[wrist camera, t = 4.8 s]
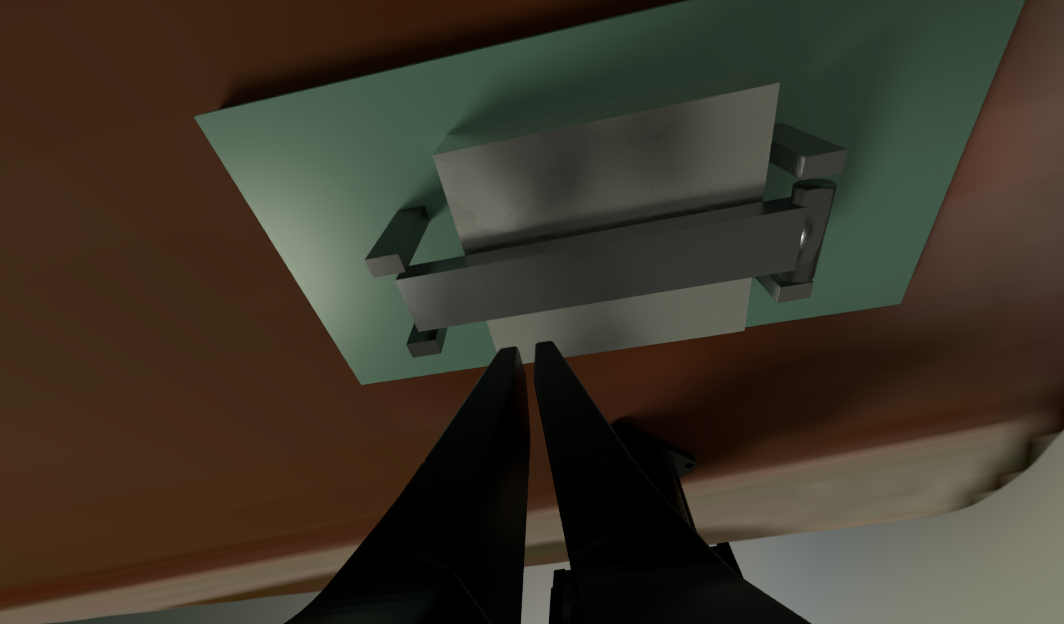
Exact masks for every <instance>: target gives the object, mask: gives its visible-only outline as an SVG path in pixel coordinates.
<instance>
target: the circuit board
mask: <svg viewBox="0 0 1064 624" xmlns="http://www.w3.org/2000/svg"><path fill="white" fill-rule="evenodd" d="M1024 2H1025V0H682V1H678V2H674V3H669V4H665V5H661V6H657V7H652V8H648V9H644V10H640V11H635V12H631V13H627V14H622V15H618V16H614V17H610V18H605V19H601V20H597V21H593V22H588V23H584V24H580V25H576V26H571V27H567V28H563V29H558V30H554V31H550V32H546V33H541V34H537V35H533V36H529V37H524V38H520V39H516V40H512V41H507V42H503V43H499V44H494V45H490V46H486V47H482V48H477V49H473V50H469V51H465V52H460V53H456V54H452V55H448V56H443V57H439V58H435V59H430V60H426V61H422V62H418V63H413V64H409V65H405V66H401V67H396V68H392V69H388V70H384V71H379V72H375V73H371V74H366V75H362V76H358V77H354V78H349V79H345V80H341V81H337V82H332V83H328V84H324V85H320V86H315V87H311V88H307V89H302V90H298V91H294V92H290V93H285V94H281V95H277V96H273V97H268V98H264V99H260V100H256V101H251V102H247V103H243V104H238V105H234V106H230V107H226V108H221V109H217V110H214V111H211V112H207V113H204V114H201V115H197V116H194V118H195V119H196V121H197V123H198V124H199V126H200V127H201V129H202V131H203V132H204V134H205V135H206V137H207V139H208V140H209V142H210V143H211V145H212V147H213V148H214V150H215V151H216V153H217V155H218V156H219V158H220V159H221V161H222V163H223V164H224V166H225V167H226V169H227V171H228V172H229V174H230V175H231V177H232V179H233V180H234V182H235V183H236V185H237V187H238V188H239V190H240V191H241V193H242V195H243V196H244V198H245V199H246V201H247V203H248V204H249V206H250V207H251V209H252V211H253V212H254V214H255V215H256V217H257V219H258V220H259V222H260V223H261V225H262V227H263V228H264V230H265V231H266V233H267V235H268V236H269V238H270V239H271V241H272V243H273V244H274V246H275V247H276V249H277V251H278V252H279V254H280V255H281V257H282V259H283V260H284V262H285V263H286V265H287V267H288V268H289V270H290V271H291V273H292V275H293V276H294V278H295V279H296V281H297V283H298V284H299V286H300V287H301V289H302V291H303V292H304V294H305V295H306V297H307V299H308V300H309V302H310V303H311V305H312V307H313V308H314V310H315V311H316V313H317V315H318V316H319V318H320V319H321V321H322V323H323V324H324V326H325V327H326V329H327V331H328V332H329V334H330V335H331V337H332V339H333V340H334V342H335V343H336V345H337V347H338V348H339V350H340V351H341V353H342V355H343V356H344V358H345V359H346V361H347V363H348V364H349V366H350V367H351V369H352V371H353V372H354V374H355V375H356V377H357V379H358V380H359V382H360V383H361V385H363V384H370V383H376V382H383V381H390V380H396V379H403V378H410V377H416V376H423V375H430V374H436V373H443V372H450V371H456V370H463V369H470V368H476V367H483V366H489V364H490V363H491V361H492V360H493V358H494V357H495V355H496V354H497V352H496V349H495V346H494V343H493V340H492V337H491V333H490V330H489V327H488V324H487V321H482V322H476V323H470V324H464V325H457V326H451V327H448V329H447V333H446V337H445V341H444V344H443V348H442V352H441V354H434V355H428V356H422V357H415V358H413V357H412V355H411V353H410V351H409V349H408V347H407V345H406V344H407V341H408V338H409V335H410V333H411V330H412V327H413V325H414V321H413V318H412V316H411V314H410V312H409V310H408V307H407V305H406V303H405V301H404V299H403V296H402V294H401V292H400V290H399V288H398V286H397V283H396V281H395V280H396V278H397V276H398V274H399V273H397V274H392V275H386V276H381V277H375V278H373V276H372V274H371V272H370V270H369V268H368V266H367V264H366V262H365V258H366V257H367V255H368V254H369V252H370V251H371V249H372V248H373V246H374V245H375V243H376V242H377V241H378V239H379V238H380V236H381V235H382V233H383V232H384V230H385V229H386V227H387V226H388V224H389V223H390V221H391V220H392V218H393V217H394V215H395V214H396V212H397V211H399V210H404V209H409V208H415V207H420V206H425V209H426V212H427V214H428V217H429V220H430V222H429V224H428V227H427V229H426V231H425V233H424V235H423V237H422V239H421V241H420V243H419V245H418V248H417V250H416V252H415V254H414V256H413V258H412V260H411V262H410V264H409V266H410V265H416V264H421V263H427V262H432V261H438V260H443V259H449V258H454V257H460V256H465V254H464V251H463V248H462V244H461V241H460V238H459V235H458V232H457V229H456V226H455V223H454V220H453V217H452V214H451V211H450V208H449V205H448V202H447V198H446V195H445V192H444V189H443V186H442V183H441V180H440V177H439V174H438V171H437V168H436V165H435V162H434V159H433V156H432V155H433V154H434V152H435V151H436V149H437V148H438V146H439V145H440V143H441V142H442V141H443V139H444V138H445V136H446V135H447V134H451V133H456V132H461V131H465V130H470V129H475V128H479V127H484V126H489V125H493V124H498V123H503V122H507V121H512V120H517V119H522V118H526V117H531V116H536V115H540V114H545V113H550V112H554V111H559V110H564V109H568V108H573V107H578V106H582V105H587V104H592V103H597V102H601V101H606V100H611V99H615V98H620V97H625V96H629V95H634V94H639V93H643V92H648V91H653V90H657V89H662V88H667V87H672V86H676V85H681V84H686V83H690V82H695V81H700V80H704V79H709V78H714V77H718V76H723V75H728V74H732V73H737V72H741V73H745V74H749V75H752V76H756V77H760V78H764V79H768V80H772V81H775V82H779V83H780V86H779V93H778V100H777V107H776V114H775V121H774V124H779V123H785V124H787V125H790V126H792V127H795V128H797V129H799V130H802V131H804V132H807V133H809V134H811V135H814V136H816V137H819V138H821V139H823V140H826V141H828V142H831V143H833V144H836V145H838V146H840V147H843V148H845V149H847V153H846V157H845V161H844V165H843V169H842V173H839V174H833V175H828V176H822V177H817V178H820V179H827V180H831V181H834V182H835V183H836V184H837V188H836V192H835V196H834V200H833V204H832V208H831V212H830V216H829V220H828V224H827V228H826V232H825V236H824V241H823V245H822V249H821V253H820V257H819V261H818V265H817V269H816V273H815V276H814V278H813V279H812V281H813V282H814V285H813V289H812V293H811V297H810V298H807V299H801V300H794V301H788V302H781V303H777V302H776V301H775V300H774V299H773V298H772V297H771V295H770V294H769V293H768V292H767V291H766V290H765V289H764V287H763V286H762V285H761V284H760V283H759V282H758V281H757V279H756V278H755V277H752V281H751V288H750V295H749V302H748V309H747V316H746V323H745V327H750V326H757V325H763V324H770V323H777V322H783V321H790V320H797V319H803V318H810V317H817V316H823V315H830V314H837V313H843V312H850V311H857V310H863V309H870V308H877V307H883V306H890V305H897V304H901V301H902V299H903V296H904V294H905V292H906V289H907V287H908V284H909V282H910V279H911V277H912V275H913V272H914V270H915V267H916V265H917V262H918V260H919V258H920V255H921V253H922V250H923V248H924V245H925V243H926V241H927V238H928V236H929V233H930V231H931V228H932V226H933V224H934V221H935V219H936V216H937V214H938V211H939V209H940V206H941V204H942V202H943V199H944V197H945V194H946V192H947V189H948V187H949V185H950V182H951V180H952V177H953V175H954V172H955V170H956V168H957V165H958V163H959V160H960V158H961V155H962V153H963V151H964V148H965V146H966V143H967V141H968V138H969V136H970V134H971V131H972V129H973V126H974V124H975V121H976V119H977V116H978V114H979V112H980V109H981V107H982V104H983V102H984V99H985V97H986V95H987V92H988V90H989V87H990V85H991V82H992V80H993V78H994V75H995V73H996V70H997V68H998V65H999V63H1000V61H1001V58H1002V56H1003V53H1004V51H1005V48H1006V46H1007V44H1008V41H1009V39H1010V36H1011V34H1012V31H1013V29H1014V26H1015V24H1016V22H1017V19H1018V17H1019V14H1020V12H1021V9H1022V7H1023V5H1024ZM799 180H800V179H798V178H796V177H795V176H793V175H791V174H790V173H788V172H786V171H785V170H783V169H781V168H780V167H778V166H776V165H774V164H773V163H771V162H769V163H768V170H767V177H766V184H765V191H764V198H763V202H764V201H769V200H775V199H780V198H786V197H791V192H792V187H793V184H794V183H795V182H797V181H799Z"/></svg>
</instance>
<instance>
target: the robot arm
mask: <svg viewBox="0 0 1064 624" xmlns="http://www.w3.org/2000/svg"><path fill="white" fill-rule="evenodd" d="M534 384H535V390H536V395H537V400H538V405H539V410H540V415H541V420H542V426H543V431H544V436H545V441H546V446H547V451H548V456H549V461H550V466H551V471H552V476H553V481H554V486H555V491H556V496H557V501H558V507H559V512H560V517H561V522H562V527H563V532H564V537H565V542H566V547H567V552H568V557H569V561H570V567H571V570H565V569H559V570H554V578H553V587H552V588H551V598H550V612H549V624H811V623H810V622H808V621H807V620H805V619H804V618H802V617H801V616H799V615H797V614H796V613H795V612H793V611H791V610H790V609H788V608H787V607H785V606H784V605H782V604H781V603H779V602H778V601H776V600H775V599H773V598H772V597H770V596H769V595H767V594H766V593H764V592H763V591H761V590H760V589H758V588H757V587H755V586H754V585H752V584H751V583H749V582H748V581H746V580H745V579H744V578H743V576H742V573H741V571H740V569H739V566H738V564H737V562H736V559H735V557H734V554H733V553H732V550H731V547H730V545H729V543H728V542H724V543H718V544H717V546H713V547H709V545H708V544H707V543H706V542H705V541H704V540H703V539H702V538H701V537H700V536H699V534H698V533H697V531H696V528H695V525H694V522H693V519H692V516H691V513H690V510H689V507H688V503H687V500H686V497H685V494H684V491H683V488H682V485H681V482H680V479H679V478H681V477H682V476H684V475H685V474H687V473H689V472H690V471H692V470H693V469H695V468H696V467H697V462H696V459H695V457H694V456H692V455H690V454H688V453H686V452H684V451H682V450H679V449H677V448H675V447H673V446H671V445H669V444H667V443H665V442H663V441H661V440H658V439H656V438H654V437H652V436H650V435H648V434H646V433H644V432H642V431H639V430H637V429H635V428H633V427H631V426H629V425H627V424H625V423H615V424H613V425H612V426H610V424H609V423H608V421H607V420H606V419H605V417H604V416H603V414H602V413H601V411H600V410H599V408H598V407H597V405H596V404H595V402H594V401H593V399H592V398H591V397H590V395H589V394H588V392H587V391H586V389H585V388H584V386H583V385H582V383H581V382H580V380H579V379H578V377H577V376H576V374H575V373H574V372H573V370H572V369H571V367H570V366H569V364H568V363H567V361H566V360H565V358H564V357H563V355H562V354H561V352H560V351H559V350H558V348H557V347H556V345H555V344H554V342H553V341H545V342H538V343H536V344H535V358H534ZM529 459H530V423H529V410H528V396H527V382H526V374H525V370H524V366H523V363H522V359H521V356H520V352H519V349H518V348H517V347H516V346H512V347H506V348H501V349H500V350H499V351H498V352H497V354H496V355H495V357H494V358H493V360H492V361H491V363H490V364H489V366H488V367H487V368H486V370H485V371H484V373H483V374H482V376H481V377H480V379H479V380H478V382H477V383H476V385H475V386H474V388H473V389H472V391H471V392H470V394H469V395H468V397H467V398H466V399H465V401H464V402H463V404H462V405H461V407H460V408H459V410H458V411H457V413H456V414H455V416H454V417H453V419H452V420H451V422H450V423H449V425H448V426H447V428H446V429H445V430H444V432H443V433H442V435H441V436H440V438H439V439H438V441H437V442H436V444H435V445H434V447H433V448H432V450H431V451H430V453H429V454H428V456H427V457H426V459H425V462H423V463H422V464H421V466H420V467H419V469H418V470H417V472H416V473H415V475H414V476H413V477H412V479H411V480H410V482H409V483H408V484H407V486H406V487H405V489H404V490H403V491H402V493H401V494H400V496H399V497H398V498H397V500H396V501H395V502H394V504H393V505H392V506H391V507H390V509H389V510H388V511H387V512H386V514H385V515H384V516H383V518H382V519H381V520H380V521H379V523H378V524H377V525H376V526H375V528H374V529H373V530H372V531H371V532H370V534H369V535H368V536H367V537H366V539H365V540H364V541H363V542H362V543H361V545H360V546H359V547H358V548H357V550H356V551H355V552H354V553H353V554H352V556H351V557H350V558H349V559H348V560H347V562H346V563H345V564H344V565H343V567H342V568H341V569H340V570H339V571H338V573H337V574H336V575H335V576H334V578H333V579H332V580H331V581H330V582H329V584H328V585H327V586H326V587H325V588H324V589H323V590H322V592H321V593H320V594H319V595H318V596H317V597H316V598H315V599H314V600H313V601H312V602H311V603H310V604H308V605H307V606H306V607H305V608H304V609H303V610H302V611H300V612H299V613H298V614H297V615H295V616H294V617H293V618H291V619H290V620H288V621H287V622H285V623H284V624H521V611H522V592H523V573H524V554H525V535H526V516H527V497H528V478H529Z"/></svg>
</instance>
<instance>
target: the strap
mask: <svg viewBox="0 0 1064 624" xmlns="http://www.w3.org/2000/svg"><path fill="white" fill-rule="evenodd" d="M836 188H837V184H836V183H835V182H834V181H831V180H827V179H820V178H811V179H806V180H799V181H797V182H795V183H794V184H793V187H792V192H791V197H786V198H780V199H775V200H769V201H764V202H758V203H753V204H747V205H742V206H736V207H731V208H725V209H720V210H714V211H709V212H703V213H698V214H692V215H686V216H681V217H675V218H670V219H664V220H659V221H653V222H648V223H642V224H637V225H631V226H626V227H620V228H615V229H609V230H604V231H598V232H593V233H587V234H582V235H576V236H570V237H565V238H559V239H554V240H548V241H543V242H537V243H532V244H526V245H521V246H515V247H510V248H504V249H499V250H493V251H488V252H482V253H477V254H471V255H466V256H460V257H454V258H449V259H443V260H438V261H432V262H427V263H421V264H416V265H410V266H408V269H407V271H406V272H403V273H399V274H398V276H397V278H396V280H395V281H396V283H397V286H398V288H399V290H400V292H401V294H402V296H403V299H404V301H405V303H406V305H407V307H408V310H409V312H410V314H411V316H412V318H413V321H414V323H415V325H416V327H417V329H418V331H419V332H421V331H427V330H433V329H439V328H445V327H451V326H457V325H464V324H470V323H476V322H482V321H488V320H494V319H500V318H507V317H513V316H519V315H525V314H531V313H537V312H543V311H549V310H556V309H562V308H568V307H574V306H580V305H586V304H592V303H598V302H605V301H611V300H617V299H623V298H629V297H635V296H641V295H648V294H654V293H660V292H666V291H672V290H678V289H684V288H690V287H697V286H703V285H709V284H715V283H721V282H727V281H733V280H740V279H746V278H752V277H758V276H764V275H770V274H776V273H777V275H778V276H779V277H780V278H782V279H784V280H787V281H791V282H806V281H810V280H812V279H813V278H814V276H815V273H816V269H817V265H818V261H819V257H820V253H821V249H822V245H823V241H824V236H825V232H826V228H827V224H828V220H829V216H830V212H831V208H832V204H833V200H834V196H835V192H836Z"/></svg>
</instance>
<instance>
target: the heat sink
mask: <svg viewBox="0 0 1064 624" xmlns="http://www.w3.org/2000/svg"><path fill="white" fill-rule="evenodd" d="M779 86H780V83H779V82H775V81H772V80H768V79H764V78H760V77H756V76H752V75H749V74H745V73H741V72H737V73H732V74H728V75H723V76H718V77H714V78H709V79H704V80H700V81H695V82H690V83H686V84H681V85H676V86H672V87H667V88H662V89H657V90H653V91H648V92H643V93H639V94H634V95H629V96H625V97H620V98H615V99H611V100H606V101H601V102H597V103H592V104H587V105H582V106H578V107H573V108H568V109H564V110H559V111H554V112H550V113H545V114H540V115H536V116H531V117H526V118H522V119H517V120H512V121H507V122H503V123H498V124H493V125H489V126H484V127H479V128H475V129H470V130H465V131H461V132H456V133H451V134H447V135H446V136H445V138H444V139H443V141H442V142H441V143H440V145H439V146H438V148H437V149H436V151H435V152H434V154H433V155H432V156H433V159H434V162H435V165H436V168H437V171H438V174H439V177H440V180H441V183H442V186H443V189H444V192H445V195H446V198H447V202H448V205H449V208H450V211H451V214H452V217H453V220H454V223H455V226H456V229H457V232H458V235H459V238H460V241H461V244H462V248H463V251H464V254H465V256H466V255H471V254H477V253H482V252H488V251H493V250H499V249H504V248H510V247H515V246H521V245H526V244H532V243H537V242H543V241H548V240H554V239H559V238H565V237H570V236H576V235H582V234H587V233H593V232H598V231H604V230H609V229H615V228H620V227H626V226H631V225H637V224H642V223H648V222H653V221H659V220H664V219H670V218H675V217H681V216H686V215H692V214H698V213H703V212H709V211H714V210H720V209H725V208H731V207H736V206H742V205H747V204H753V203H758V202H763V198H764V191H765V184H766V177H767V170H768V163H769V162H771V163H773V164H774V165H776V166H778V167H780V168H781V169H783V170H785V171H786V172H788V173H790V174H791V175H793V176H795V177H796V178H798V179H800V180H806V179H811V178H817V177H822V176H828V175H833V174H839V173H842V169H843V165H844V161H845V157H846V153H847V149H845V148H843V147H840V146H838V145H836V144H833V143H831V142H828V141H826V140H823V139H821V138H819V137H816V136H814V135H811V134H809V133H807V132H804V131H802V130H799V129H797V128H795V127H792V126H790V125H787V124H785V123H779V124H774V121H775V114H776V107H777V100H778V93H779ZM429 222H430V220H429V217H428V214H427V212H426V209H425V206H420V207H415V208H409V209H404V210H399V211H397V212H396V214H395V215H394V217H393V218H392V220H391V221H390V223H389V224H388V226H387V227H386V229H385V230H384V232H383V233H382V235H381V236H380V238H379V239H378V241H377V242H376V243H375V245H374V246H373V248H372V249H371V251H370V252H369V254H368V255H367V257H366V258H365V262H366V264H367V266H368V268H369V270H370V272H371V274H372V276H373V278H375V277H381V276H386V275H392V274H397V273H403V272H406V271H407V269H408V266H409V264H410V262H411V260H412V258H413V256H414V254H415V252H416V250H417V248H418V245H419V243H420V241H421V239H422V237H423V235H424V233H425V231H426V229H427V227H428V224H429ZM755 278H756V279H757V281H758V282H759V283H760V284H761V285H762V286H763V287H764V289H765V290H766V291H767V292H768V293H769V294H770V295H771V297H772V298H773V299H774V300H775V301H776V302H777V303H781V302H788V301H794V300H801V299H807V298H810V297H811V293H812V289H813V285H814V282H813V281H812V280H810V281H806V282H791V281H787V280H784V279H782V278H780V277H779V276H778V275H777V273H776V274H770V275H764V276H758V277H755ZM751 281H752V278H746V279H740V280H733V281H727V282H721V283H715V284H709V285H703V286H697V287H690V288H684V289H678V290H672V291H666V292H660V293H654V294H648V295H641V296H635V297H629V298H623V299H617V300H611V301H605V302H598V303H592V304H586V305H580V306H574V307H568V308H562V309H556V310H549V311H543V312H537V313H531V314H525V315H519V316H513V317H507V318H500V319H494V320H488V321H487V324H488V327H489V330H490V333H491V337H492V340H493V343H494V346H495V349H496V352H498V351H499V350H500V349H501V348H506V347H512V346H516V347H517V348H518V349H519V352H520V356H521V359H522V363H523V364H525V363H531V362H534V358H535V344H536V343H538V342H545V341H553V342H554V344H555V345H556V347H557V348H558V350H559V351H560V352H561V354H562V355H563V357H564V358H565V357H572V356H578V355H585V354H592V353H599V352H605V351H612V350H619V349H625V348H632V347H639V346H646V345H652V344H659V343H666V342H672V341H679V340H686V339H692V338H699V337H706V336H713V335H719V334H726V333H733V332H739V331H744V330H745V323H746V316H747V309H748V302H749V295H750V288H751ZM447 329H448V327H445V328H439V329H433V330H427V331H421V332H419V331H418V329H417V327H416V325H415V323H414V325H413V327H412V330H411V333H410V335H409V338H408V341H407V344H406V345H407V347H408V349H409V351H410V353H411V355H412V357H413V358H415V357H422V356H428V355H434V354H441V352H442V348H443V344H444V341H445V337H446V333H447Z"/></svg>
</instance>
